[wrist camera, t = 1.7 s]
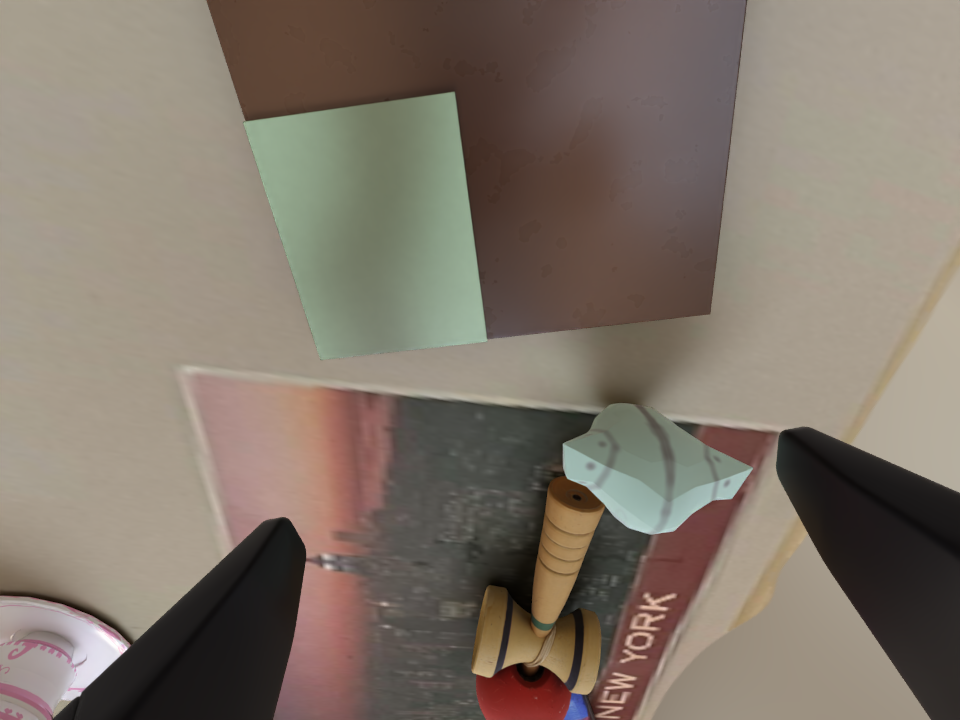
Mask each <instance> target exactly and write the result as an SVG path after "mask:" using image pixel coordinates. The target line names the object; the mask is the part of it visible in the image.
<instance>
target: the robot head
mask: <svg viewBox="0 0 960 720" xmlns="http://www.w3.org/2000/svg"><path fill="white" fill-rule="evenodd" d="M563 469H564V472H565V474H566V477H567V479H569V480H572V481H574V482H577V483H579V484H582V485H584V486H586V487H587V488H588V489H589V490H590V491H591V492H592V493H593V494H594V495H595V496H596V497H597V498H598V499H599V500H600V501H601V502H603V503H604V505H605V506H606V507H607V508H608V510H609V511H610V512H611V513H612V515H613V516H614V517H615V518H616V519H618V520H619V521H620V522H621V523H623V524H624V525H625V526H626V527H628V528H630V529H634V530H637V531H640V532H644V533H647V534H657V533H665V532H672V531H675V530H676V529H677V528H678V527H679V526H680V525H681V524H682V523H683V522H684V521H685V520H686V519H687V518H688V517H689V516H690V515H691V514H692V513H694V512H696V511H697V510H699V509H700V508H702V507H703V506H705V505H706V504H708V503H709V502H711V501H712V500H723V499H732V498H733V496H734V495H735V494H736V492H737V491H738V489H739V488H740V486H741V485H742V484H743V482H744V481H745V479H746V478H747V476H748V475H749V474H750V472H751V471H752V469H753V468H752V467H750V466H748V465H746V464H744V463H742V462H740V461H738V460H736V459H733V458H731V457H729V456H727V455H725V454H723V453H721V452H719V451H717V450H715V449H713V448H711V447H709V446H707V445H705V444H704V443H702V442H701V441H699V440H698V439H696V438H694V437H693V436H691V435H690V434H688V433H687V432H685V431H684V430H682V429H681V428H679V427H678V426H677V425H675V424H674V423H673V422H672V421H670V420H669V419H668V418H666V417H665V416H663V415H662V414H660V413H659V412H658V411H656V410H655V409H653V408H652V407H647V406H642V405H636V404H629V403H616V404H610V405H609V406H608V407H607V408H605V409H604V410H603V411H602V412H601V413H600V414H599V415H598V416H597V417H595V419H594V421H593V424H592V426H591V429H590V430H589V431H588V432H587V433H586V434H583V435H581V436H579V437H576V438H574V439H572V440H570V441H567V442H565V443H563Z"/></svg>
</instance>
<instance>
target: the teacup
mask: <svg viewBox="0 0 960 720" xmlns="http://www.w3.org/2000/svg"><path fill="white" fill-rule="evenodd" d="M130 646H131V645H130V644H129V643H128V642H127V641H126V640H125V639H124V638H123V637H122V636H121V635H120V634H119V633H118V632H117V631H116V630H115V629H113V628H111V627H110V626H108V625H106V624H105V623H103V622H102V621H100V620H98V619H97V618H95V617H93V616H91V615H89V614H86V613H84V612H81V611H79V610H76V609H74V608H71V607H68V606H66V605H63V604H60V603H55V602H51V601H46V600H41V599H37V598H32V597H19V596H0V720H52V719H53V713H54V710H55V708H56V706H57V705H58V703H59V701H60V700H73V699H74V698H76V697H78V696H80V695H81V692H82V691H83V690H84V689H85V688H86V687H87V686H88V685H90V684H91V683H92V682H93V681H94V680H95V679H96V678H97V677H98V676H99V675H100V674H101V673H102V672H103V671H104V670H106V669H107V668H108V667H109V666H110V665H111V664H112V663H113V662H114V661H115V660H116V659H117V658H118V657H119V656H120V655H122V654H123V653H124V652H125V651H126V650H127V649H128V648H129V647H130Z"/></svg>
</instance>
